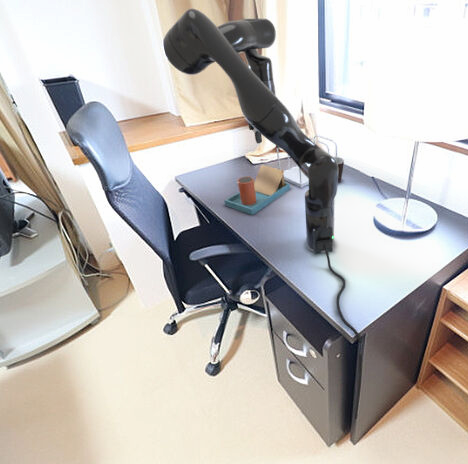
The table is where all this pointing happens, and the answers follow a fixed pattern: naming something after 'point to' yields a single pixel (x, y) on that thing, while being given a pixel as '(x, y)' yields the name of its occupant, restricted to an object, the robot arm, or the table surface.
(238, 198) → the tray
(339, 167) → the coffee mug
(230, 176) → the table surface
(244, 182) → the orange cylinder
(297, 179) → the file sorter
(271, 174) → the wooden stand
